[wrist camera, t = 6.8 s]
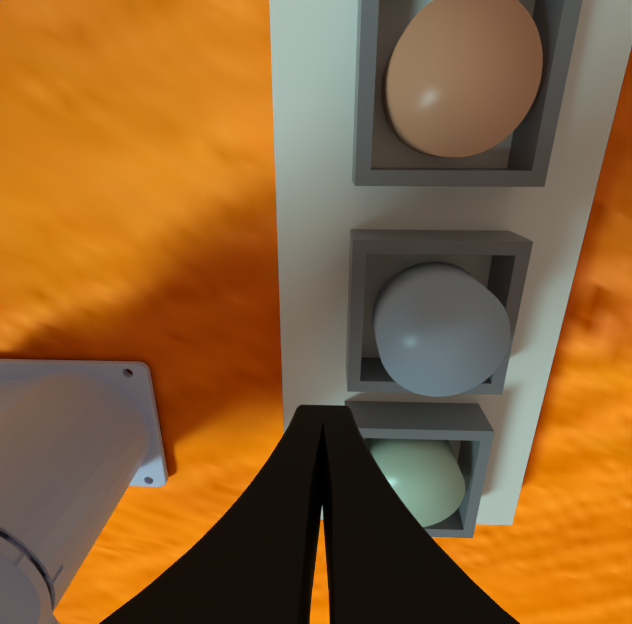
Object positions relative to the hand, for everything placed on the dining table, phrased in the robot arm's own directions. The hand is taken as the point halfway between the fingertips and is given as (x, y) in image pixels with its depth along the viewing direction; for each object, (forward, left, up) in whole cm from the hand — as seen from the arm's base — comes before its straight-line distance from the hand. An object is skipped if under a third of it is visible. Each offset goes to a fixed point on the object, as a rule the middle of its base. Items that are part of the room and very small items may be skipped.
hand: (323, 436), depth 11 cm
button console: (+4, +1, -9) cm, 10 cm away
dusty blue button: (+4, +1, -6) cm, 7 cm away
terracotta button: (+4, +9, -7) cm, 12 cm away
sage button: (+4, -7, -7) cm, 11 cm away
